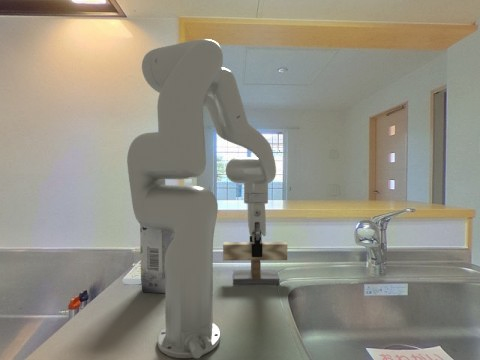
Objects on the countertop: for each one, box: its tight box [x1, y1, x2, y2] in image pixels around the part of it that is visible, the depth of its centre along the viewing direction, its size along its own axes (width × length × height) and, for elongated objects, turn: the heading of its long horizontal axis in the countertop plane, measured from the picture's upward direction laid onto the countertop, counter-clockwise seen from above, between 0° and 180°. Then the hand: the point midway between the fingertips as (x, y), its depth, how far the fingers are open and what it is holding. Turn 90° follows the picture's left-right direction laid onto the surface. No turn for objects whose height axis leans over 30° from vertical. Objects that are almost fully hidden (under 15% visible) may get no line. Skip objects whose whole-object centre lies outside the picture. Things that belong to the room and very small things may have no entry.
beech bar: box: [222, 241, 288, 261], centre depth 93 cm, size 20×3×5 cm, turn 91°
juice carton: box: [139, 223, 175, 294], centre depth 87 cm, size 9×10×27 cm
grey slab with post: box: [232, 260, 281, 285], centre depth 94 cm, size 8×14×6 cm, turn 91°
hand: (255, 252), depth 94 cm, fingers open, 9 cm apart
